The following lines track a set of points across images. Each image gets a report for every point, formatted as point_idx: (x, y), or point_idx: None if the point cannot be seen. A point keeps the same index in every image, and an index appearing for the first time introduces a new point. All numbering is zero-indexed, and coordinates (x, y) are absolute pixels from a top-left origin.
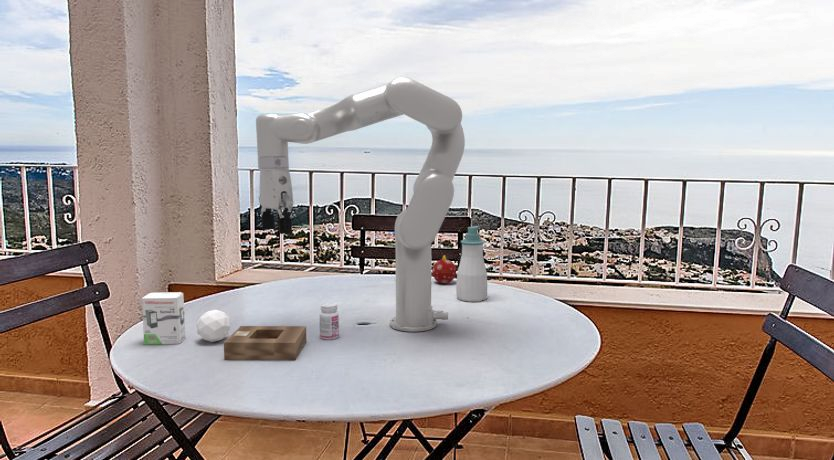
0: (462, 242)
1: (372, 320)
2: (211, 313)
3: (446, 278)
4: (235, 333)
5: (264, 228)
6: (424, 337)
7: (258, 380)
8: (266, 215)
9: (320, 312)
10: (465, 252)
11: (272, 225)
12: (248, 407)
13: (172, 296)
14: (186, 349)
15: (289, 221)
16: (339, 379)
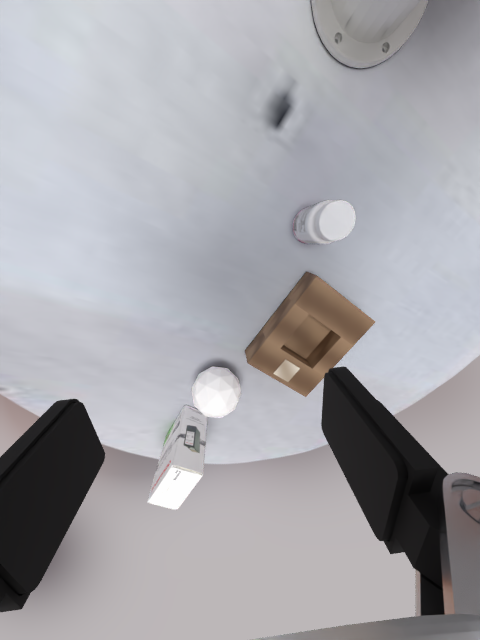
0: None
1: (271, 73)
2: (224, 410)
3: None
4: (279, 377)
5: (101, 460)
6: (444, 40)
7: (381, 366)
8: (18, 574)
9: (318, 239)
10: None
11: (69, 429)
12: (428, 389)
13: (191, 479)
14: None
15: (423, 449)
16: (451, 292)
